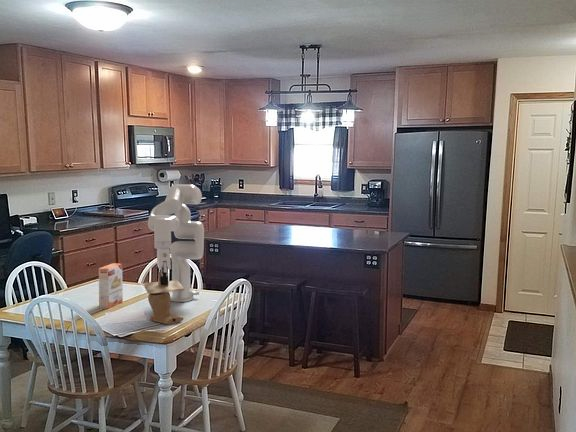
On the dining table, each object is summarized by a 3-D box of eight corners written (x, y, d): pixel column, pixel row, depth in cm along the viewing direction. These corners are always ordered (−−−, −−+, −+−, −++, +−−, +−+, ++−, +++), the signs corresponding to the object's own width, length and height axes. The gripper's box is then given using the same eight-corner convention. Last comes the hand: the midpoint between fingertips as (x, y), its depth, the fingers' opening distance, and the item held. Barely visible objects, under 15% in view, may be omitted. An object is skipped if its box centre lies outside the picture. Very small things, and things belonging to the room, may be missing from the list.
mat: (142, 310, 263) (142, 309, 263) (147, 321, 247) (147, 319, 247) (104, 314, 257) (104, 312, 256) (106, 325, 240) (106, 324, 240)
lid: (177, 282, 254) (177, 268, 253) (183, 290, 239) (183, 275, 239) (143, 285, 248) (143, 270, 247) (147, 293, 233) (147, 278, 233)
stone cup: (143, 321, 246) (142, 290, 244) (163, 316, 255) (163, 285, 253) (163, 329, 236) (163, 296, 235) (184, 322, 246) (184, 291, 244)
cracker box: (109, 309, 264) (108, 268, 261) (98, 308, 265) (97, 268, 262) (123, 302, 277) (122, 263, 275) (113, 301, 278) (112, 262, 276)
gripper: (174, 247, 235) (174, 287, 237) (168, 241, 250) (168, 278, 253) (157, 248, 232) (157, 288, 234) (152, 241, 248) (152, 279, 250)
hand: (163, 283), depth 244 cm, fingers closed on lid, 4 cm apart
